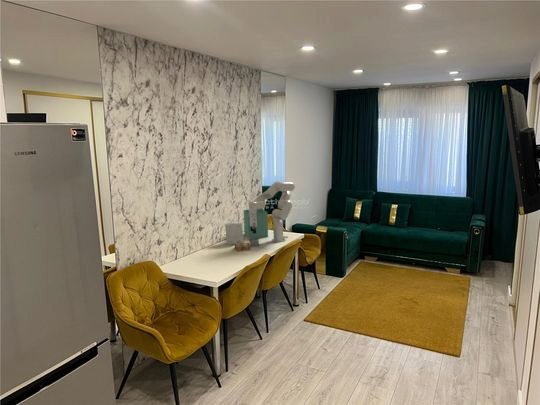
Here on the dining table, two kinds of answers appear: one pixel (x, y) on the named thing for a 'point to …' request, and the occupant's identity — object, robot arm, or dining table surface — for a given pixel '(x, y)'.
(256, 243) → the block
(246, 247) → the tray
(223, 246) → the dining table surface
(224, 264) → the dining table surface
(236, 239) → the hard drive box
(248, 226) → the box
